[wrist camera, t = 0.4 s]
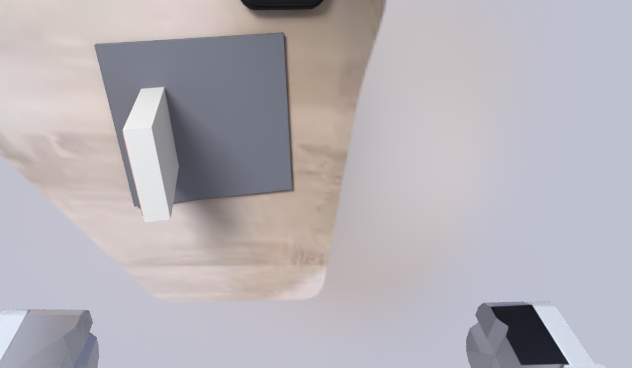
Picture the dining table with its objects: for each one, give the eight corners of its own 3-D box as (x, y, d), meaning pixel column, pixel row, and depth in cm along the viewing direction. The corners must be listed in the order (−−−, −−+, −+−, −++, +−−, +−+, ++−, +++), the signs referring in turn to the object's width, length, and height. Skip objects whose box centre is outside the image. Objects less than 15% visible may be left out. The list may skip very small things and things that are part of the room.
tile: (139, 88, 53) (120, 130, 43) (164, 86, 53) (151, 127, 43) (156, 168, 58) (142, 222, 48) (178, 166, 58) (170, 219, 48)
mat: (95, 44, 51) (94, 45, 50) (282, 32, 54) (283, 33, 53) (135, 204, 60) (134, 206, 60) (291, 187, 63) (292, 189, 63)
